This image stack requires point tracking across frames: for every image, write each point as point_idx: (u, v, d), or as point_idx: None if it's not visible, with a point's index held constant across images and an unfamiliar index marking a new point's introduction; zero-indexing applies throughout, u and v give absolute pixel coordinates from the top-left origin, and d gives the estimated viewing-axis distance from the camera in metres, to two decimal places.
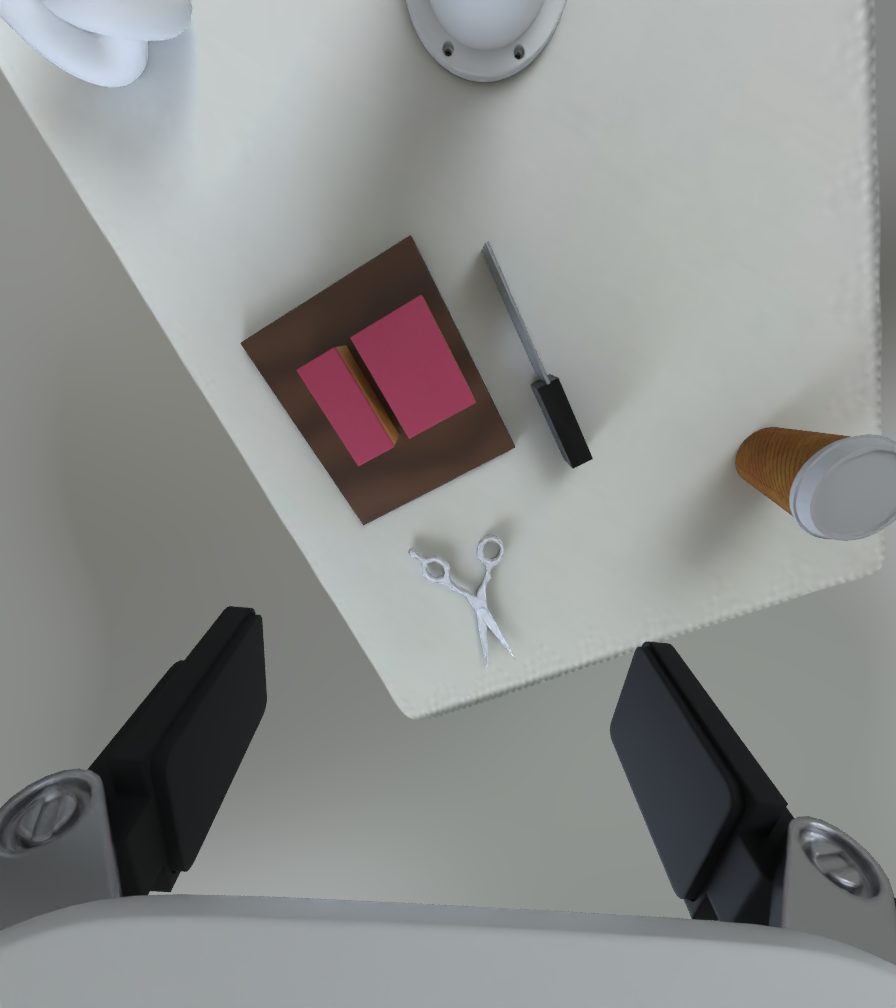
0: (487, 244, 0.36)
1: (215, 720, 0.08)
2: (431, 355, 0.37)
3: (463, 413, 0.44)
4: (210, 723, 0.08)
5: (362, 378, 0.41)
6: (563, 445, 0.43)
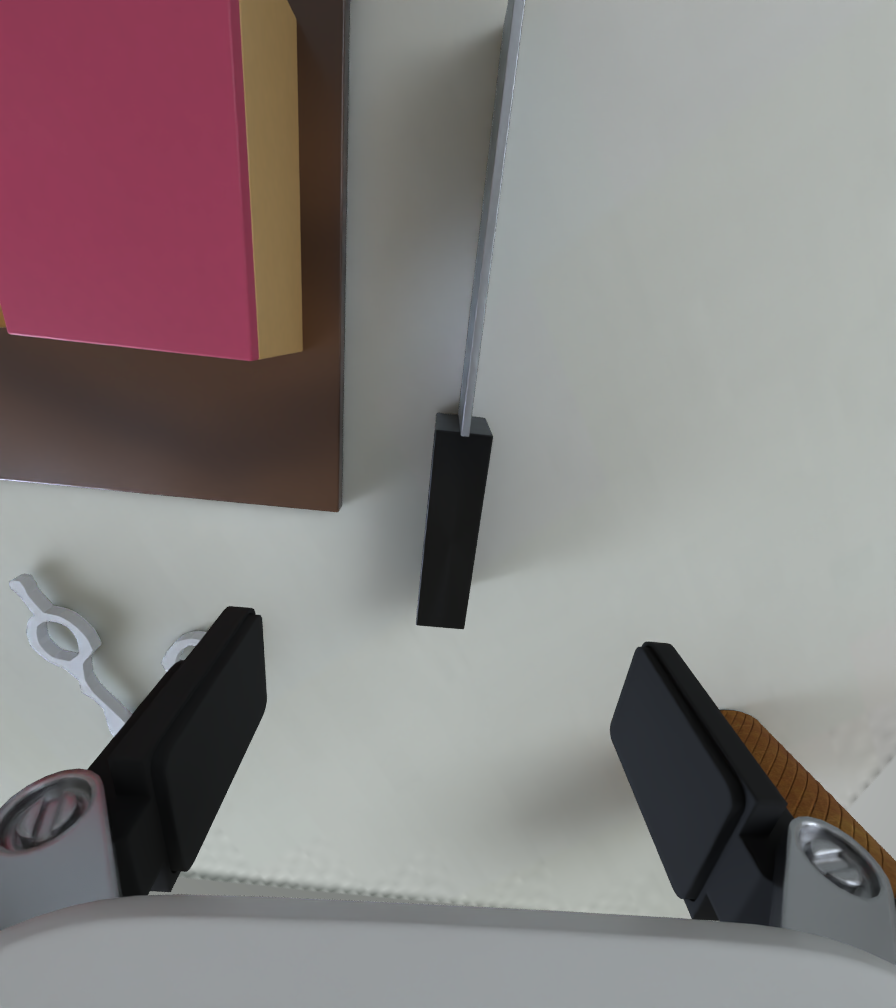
0: None
1: (215, 720, 0.08)
2: (171, 125, 0.11)
3: (262, 378, 0.18)
4: (210, 723, 0.08)
5: None
6: (423, 574, 0.18)
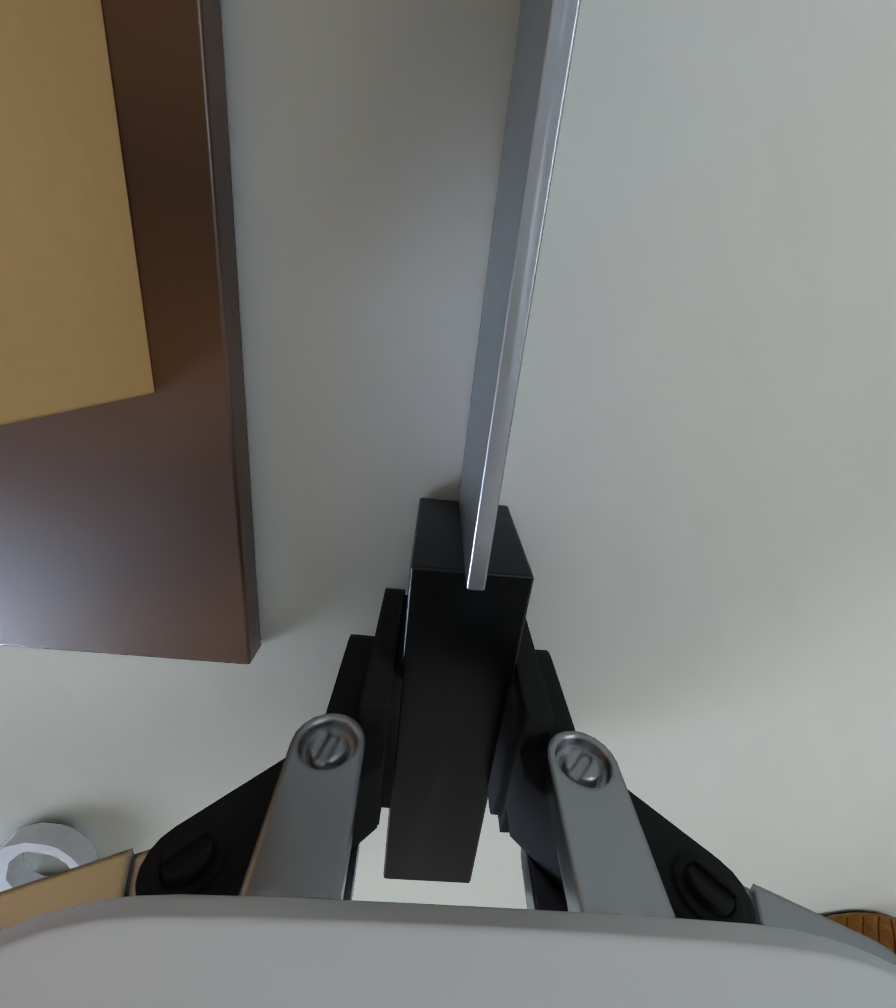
0: None
1: None
2: None
3: (83, 442, 0.09)
4: None
5: None
6: (394, 807, 0.10)
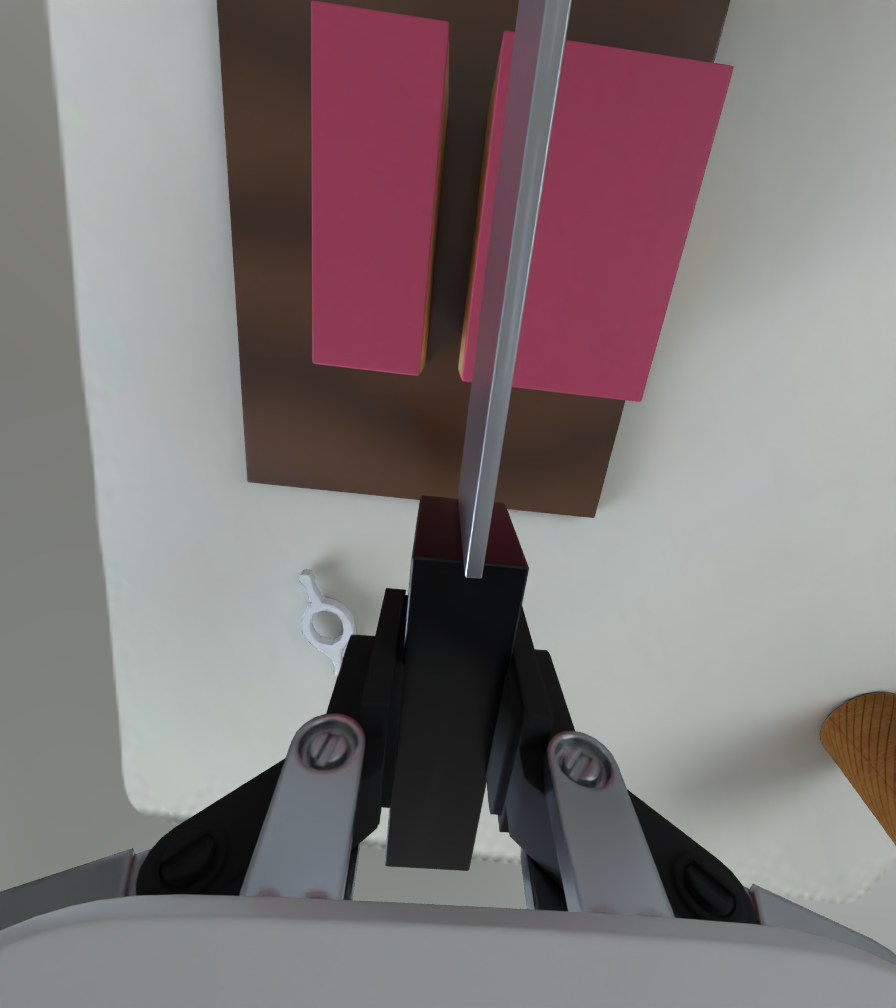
0: None
1: None
2: (639, 234, 0.15)
3: (560, 407, 0.22)
4: None
5: None
6: (395, 794, 0.10)
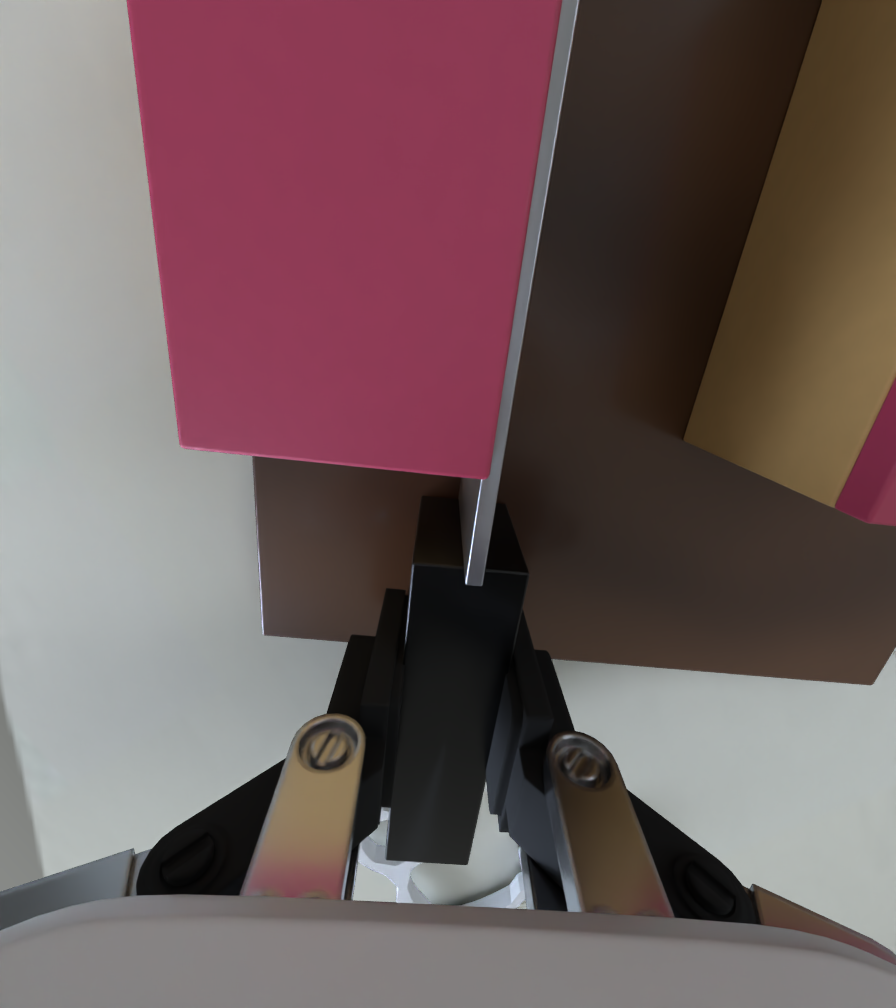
0: None
1: None
2: None
3: None
4: None
5: None
6: (395, 792, 0.10)
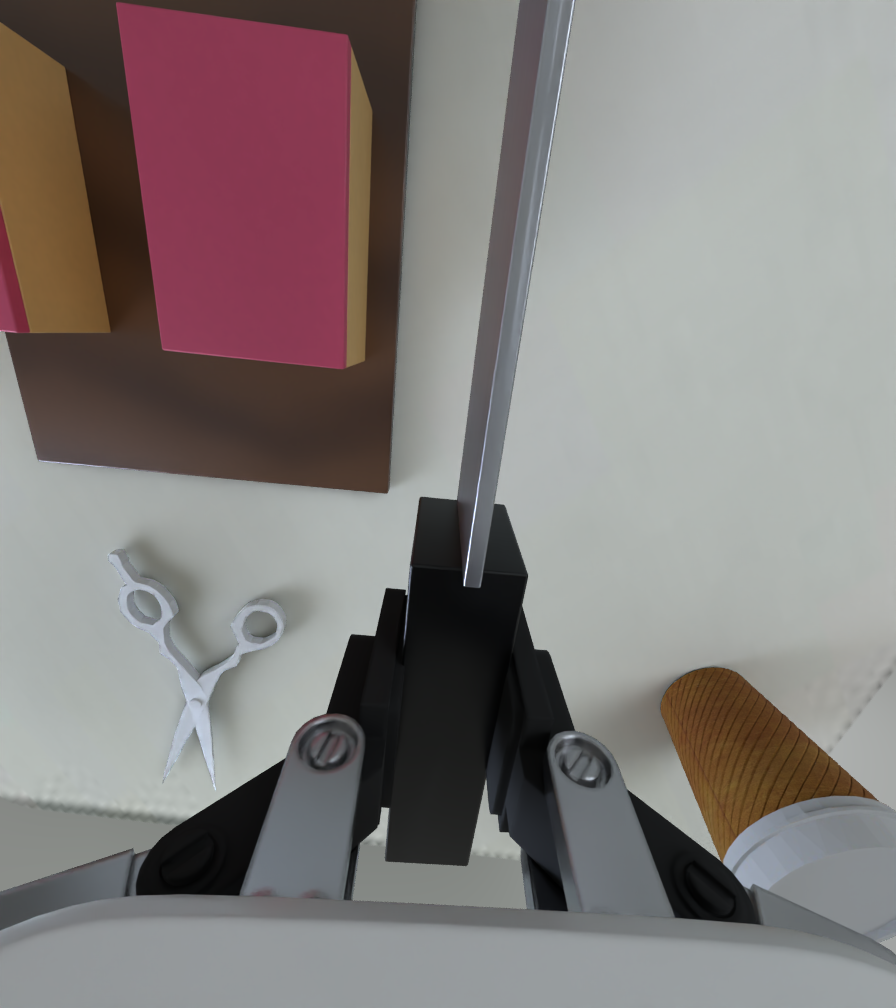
0: None
1: None
2: (298, 202, 0.15)
3: (331, 382, 0.22)
4: None
5: (52, 154, 0.17)
6: (394, 793, 0.10)
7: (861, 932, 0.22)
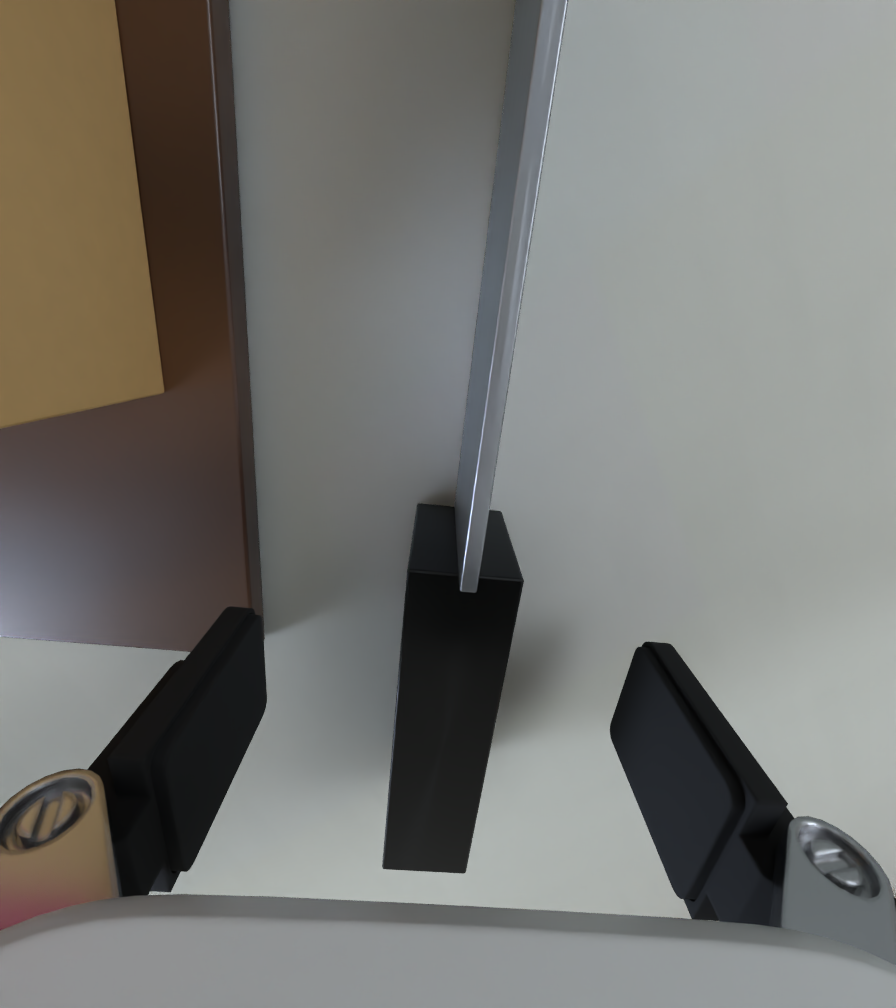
0: None
1: (215, 720, 0.08)
2: None
3: (95, 440, 0.10)
4: (210, 723, 0.08)
5: None
6: (392, 799, 0.10)
7: None
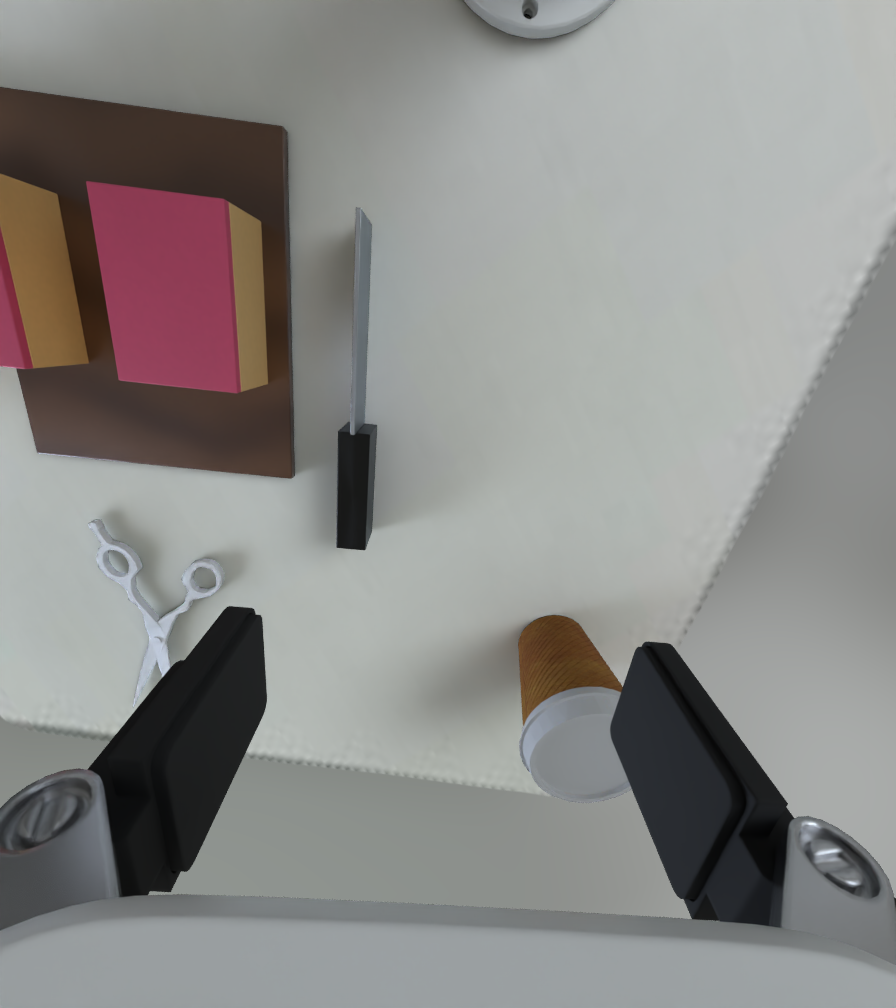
0: (357, 211, 0.24)
1: (215, 720, 0.08)
2: (201, 291, 0.24)
3: (245, 398, 0.31)
4: (210, 723, 0.08)
5: (48, 251, 0.26)
6: (338, 515, 0.32)
7: (614, 787, 0.31)
